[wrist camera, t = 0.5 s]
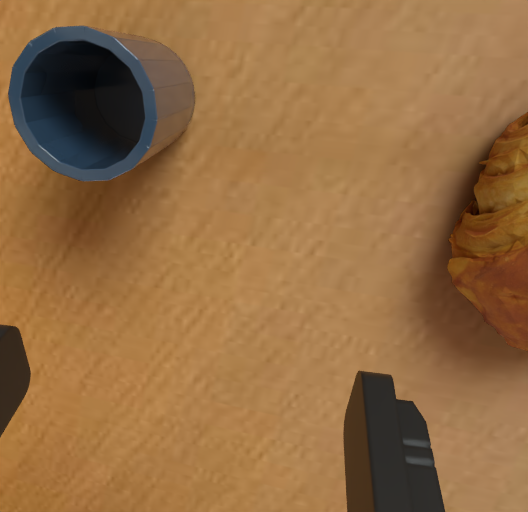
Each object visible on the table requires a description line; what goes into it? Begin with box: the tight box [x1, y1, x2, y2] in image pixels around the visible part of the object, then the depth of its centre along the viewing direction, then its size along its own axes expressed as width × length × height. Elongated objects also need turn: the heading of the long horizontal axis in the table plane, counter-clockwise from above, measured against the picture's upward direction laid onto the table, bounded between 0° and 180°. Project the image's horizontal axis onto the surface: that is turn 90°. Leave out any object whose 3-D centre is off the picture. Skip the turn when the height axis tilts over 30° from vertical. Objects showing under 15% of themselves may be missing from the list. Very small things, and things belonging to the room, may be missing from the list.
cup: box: [8, 26, 195, 181], centre depth 23 cm, size 6×6×8 cm
